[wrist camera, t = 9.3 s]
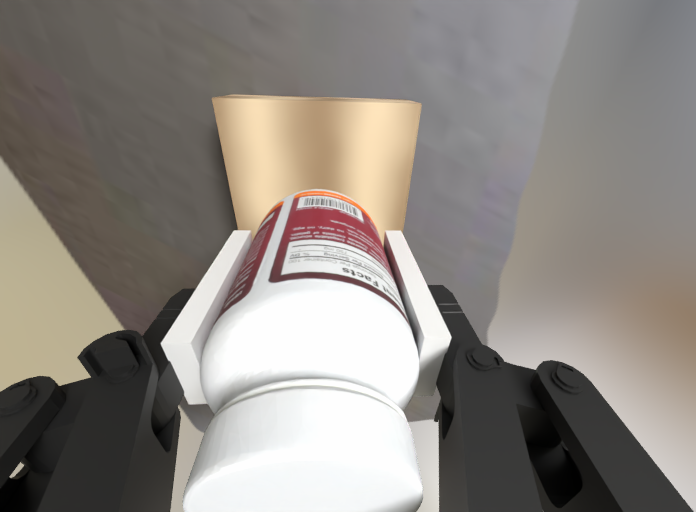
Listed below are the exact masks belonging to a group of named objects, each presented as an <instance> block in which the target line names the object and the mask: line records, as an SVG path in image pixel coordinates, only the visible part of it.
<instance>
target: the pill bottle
mask: <svg viewBox="0 0 696 512" xmlns="http://www.w3.org/2000/svg"><path fill="white" fill-rule="evenodd" d="M418 377H419V356H418V350H417V347H416V344H415V340H414V337H413V334H412V330H411V327H410V324H409V321H408V318H407V316H406V313H405V310H404V306H403V304H402V301H401V298H400V295H399V292H398V289H397V286H396V284H395V280H394V278H393V275H392V272H391V269H390V266H389V263H388V260H387V257H386V254H385V251H384V248H383V245H382V242H381V240H380V237H379V233H378V231H377V228H376V226H375V224H374V222H373V220H372V218H371V217H370V215H369V214H368V213H367V211H366V210H365V209H364V208H363V207H362V206H361V205H360V204H358V203H357V202H356V201H354V200H353V199H351V198H350V197H347V196H345V195H343V194H341V193H338V192H335V191H330V190H324V189H311V190H305V191H300V192H297V193H294V194H292V195H289V196H287V197H285V198H284V199H282V200H281V201H279V202H278V203H277V204H276V205H274V206H273V207H272V209H271V210H270V211H269V212H268V213H267V215H266V216H265V218H264V219H263V221H262V222H261V224H260V226H259V228H258V230H257V233H256V235H255V237H254V239H253V241H252V244H251V246H250V248H249V250H248V252H247V255H246V257H245V259H244V261H243V263H242V265H241V267H240V270H239V272H238V274H237V276H236V278H235V280H234V282H233V284H232V287H231V289H230V291H229V293H228V296H227V298H226V300H225V302H224V304H223V306H222V308H221V310H220V312H219V315H218V317H217V319H216V321H215V323H214V325H213V327H212V330H211V332H210V334H209V337H208V339H207V341H206V344H205V347H204V349H203V353H202V358H201V363H200V382H201V387H202V391H203V394H204V397H205V399H206V401H207V403H208V405H209V407H210V408H211V410H212V411H213V413H214V414H215V415H214V417H213V419H212V420H211V422H210V424H209V426H208V427H207V429H206V431H205V433H204V436H203V439H202V442H201V445H200V448H199V451H198V454H197V457H196V459H195V462H194V465H193V468H192V471H191V473H190V476H189V479H188V482H187V485H186V488H185V491H184V496H183V509H184V512H416V511H417V510H418V508H419V507H420V505H421V503H422V500H423V485H422V480H421V475H420V470H419V465H418V461H417V456H416V450H415V445H414V440H413V435H412V431H411V429H410V427H409V425H408V422H407V419H406V417H405V414H404V412H403V411H404V409H405V408H406V407H407V405H408V403H409V402H410V400H411V398H412V396H413V394H414V391H415V389H416V386H417V381H418Z"/></svg>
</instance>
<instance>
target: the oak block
mask: <svg viewBox="0 0 696 512" xmlns="http://www.w3.org/2000/svg"><path fill="white" fill-rule="evenodd" d="M212 101H213V106H214V111H215V116H216V121H217V126H218V131H219V137H220V142H221V147H222V152H223V157H224V162H225V167H226V172H227V177H228V182H229V187H230V192H231V197H232V202H233V207H234V212H235V217H236V222H237V227H238V230H251V234H252V240H253V239H254V237H255V235H256V233H257V230H258V228H259V226H260V224H261V222H262V221H263V219H264V218H265V216H266V215H267V213H268V212H269V211H270V210H271V209H272V207H273V206H274V205H276V204H277V203H278V202H279V201H281V200H282V199H284V198H285V197H287V196H289V195H292V194H294V193H297V192H300V191H305V190H311V189H324V190H330V191H335V192H338V193H341V194H343V195H345V196H347V197H350V198H351V199H353V200H354V201H356V202H357V203H358V204H360V205H361V206H362V207H363V208H364V209H365V210H366V211H367V213H368V214H369V215H370V217H371V218H372V220H373V222H374V224H375V226H376V228H377V231H378V233H379V237H380V240H381V242H382V245H383V244H384V235H385V231H401V232H402V234H403V227H404V221H405V214H406V207H407V200H408V194H409V187H410V180H411V173H412V166H413V160H414V153H415V146H416V139H417V132H418V126H419V119H420V112H421V105H422V104H420V103H417V102H413V101H409V100H401V99H367V98H332V97H298V96H263V95H227V96H221V97H214V98H212Z"/></svg>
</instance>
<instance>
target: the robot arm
mask: <svg viewBox="0 0 696 512" xmlns="http://www.w3.org/2000/svg"><path fill="white" fill-rule="evenodd" d="M252 241H253V240H252V234H251V230H234V231H233V233H232V234H231V236H230V237H229V239H228V240H227V242H226V244H225V245H224V247H223V248H222V250H221V251H220V253H219V254H218V256H217V257H216V259H215V260H214V262H213V264H212V265H211V267H210V268H209V270H208V271H207V273H206V274H205V276H204V277H203V279H202V281H201V282H200V284H199V285H198V287H197V288H196V289H182V290H181V291H180V292H178V293H177V294H176V295H174V296H173V297H171V298H170V300H169V301H168V302H167V304H166V305H165V307H164V308H163V311H161V312H160V313H159V315H158V316H157V319H155V320H154V321H153V323H152V324H151V325H150V327H149V328H148V330H147V331H146V332H145V334H144V335H143V336H141V335H140V334H139V333H138V332H137V331H132V330H122V331H117V332H113V333H110V334H107V335H105V336H103V337H101V338H99V339H97V340H95V341H93V342H92V343H91V344H90V345H88V346H87V347H86V348H84V349H83V351H82V352H81V354H80V355H79V356H78V359H79V360H80V362H81V363H82V365H83V366H84V367H85V369H86V370H87V372H88V373H89V374H90V376H91V378H88V379H84V380H80V381H77V382H73V383H69V384H65V385H62V386H58V384H57V383H56V382H55V381H54V380H53V379H52V378H50V377H46V376H37V377H33V378H28V379H26V380H23V381H20V382H18V383H15V384H13V385H11V386H9V387H8V388H6V389H5V390H3V391H1V392H0V512H170V508H171V500H172V490H173V481H174V472H175V464H176V455H177V446H178V437H179V428H180V419H181V416H180V411H179V409H178V405H179V403H180V401H181V399H182V396H183V394H184V395H185V397H186V400H187V402H188V404H208V403H207V401H206V399H205V397H204V394H203V391H202V387H201V382H200V363H201V358H202V353H203V349H204V347H205V344H206V341H207V339H208V337H209V334H210V332H211V330H212V327H213V325H214V323H215V321H216V319H217V317H218V315H219V312H220V310H221V308H222V306H223V304H224V302H225V300H226V298H227V296H228V293H229V291H230V289H231V287H232V284H233V282H234V280H235V278H236V276H237V274H238V272H239V270H240V267H241V265H242V263H243V261H244V259H245V257H246V255H247V252H248V250H249V248H250V246H251V244H252ZM383 248H384V251H385V254H386V257H387V260H388V263H389V266H390V269H391V272H392V275H393V278H394V280H395V284H396V286H397V289H398V292H399V295H400V298H401V301H402V304H403V306H404V310H405V313H406V316H407V318H408V321H409V324H410V327H411V330H412V334H413V337H414V340H415V344H416V347H417V350H418V356H419V377H418V381H417V386H416V389H415V391H414V394H413V396H433V395H434V392H435V389H436V385H437V388H438V390H439V393H440V396H441V400H440V403H439V406H438V409H437V412H436V415H435V419H434V421H435V422H438V419H439V512H693V510H692V509H691V508H690V507H689V506H688V504H687V503H686V502H685V500H684V499H683V498H682V497H681V495H680V494H679V493H678V491H677V490H676V489H675V488H674V486H673V485H672V484H671V483H670V481H669V480H668V479H667V477H666V476H665V475H664V474H663V472H662V471H661V470H660V469H659V467H658V466H657V465H656V464H655V462H654V461H653V460H652V458H651V457H650V456H649V455H648V453H647V452H646V451H645V450H644V448H643V447H642V446H641V445H640V443H639V442H638V441H637V440H636V438H635V437H634V436H633V434H632V433H631V432H630V431H629V429H628V428H627V427H626V426H625V424H624V423H623V422H622V420H621V419H620V418H619V417H618V415H617V414H616V413H615V412H614V410H613V409H612V408H611V407H610V405H609V404H608V403H607V401H606V400H605V399H604V398H603V396H602V395H601V394H600V393H599V391H598V390H597V389H596V388H595V386H594V385H593V384H592V382H591V381H589V380H588V378H587V377H585V376H584V374H582V373H581V372H579V371H578V370H576V369H575V368H573V367H572V366H569V365H567V364H565V363H562V362H558V361H553V360H550V361H543V362H542V363H541V364H540V365H539V366H538V367H537V369H536V370H534V369H529V368H525V367H521V366H517V365H513V364H510V363H507V362H504V360H503V359H502V357H500V355H499V354H498V353H497V352H496V351H494V350H492V349H491V348H489V347H488V346H485V345H482V343H481V342H480V340H479V338H478V337H477V335H476V333H475V331H474V330H473V328H472V326H471V325H470V323H469V321H468V319H467V318H466V316H465V314H464V313H463V311H462V309H461V307H460V306H459V305H458V302H457V300H456V299H455V297H454V295H453V293H451V292H450V291H449V290H448V289H447V288H445V287H444V286H443V285H427V284H426V282H425V280H424V278H423V276H422V274H421V272H420V270H419V268H418V265H417V263H416V261H415V259H414V257H413V255H412V253H411V251H410V249H409V247H408V245H407V242H406V240H405V238H404V236H403V234H402V232H401V231H385V235H384V244H383ZM20 462H21V463H22V464H24V467H23V468H22V469H21V470H20V472H18V473H17V474H16V476H15V477H13V478H10V477H9V476H10V475H11V474H12V472H13V471H14V470H15V468H16V467H17V466H18V464H19V463H20Z"/></svg>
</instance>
